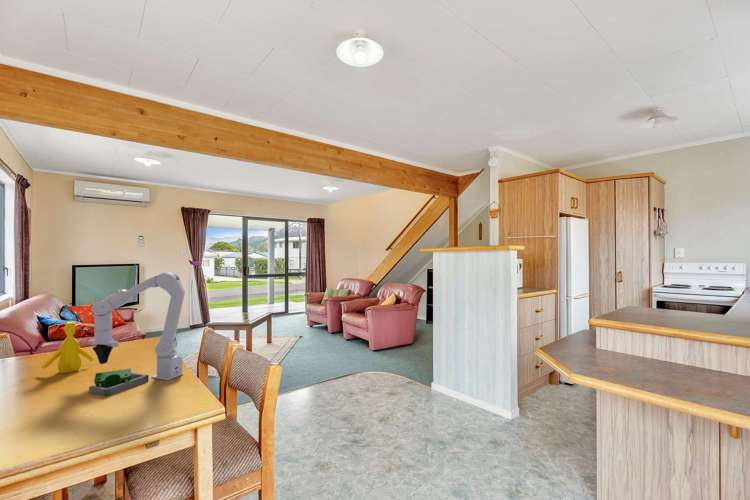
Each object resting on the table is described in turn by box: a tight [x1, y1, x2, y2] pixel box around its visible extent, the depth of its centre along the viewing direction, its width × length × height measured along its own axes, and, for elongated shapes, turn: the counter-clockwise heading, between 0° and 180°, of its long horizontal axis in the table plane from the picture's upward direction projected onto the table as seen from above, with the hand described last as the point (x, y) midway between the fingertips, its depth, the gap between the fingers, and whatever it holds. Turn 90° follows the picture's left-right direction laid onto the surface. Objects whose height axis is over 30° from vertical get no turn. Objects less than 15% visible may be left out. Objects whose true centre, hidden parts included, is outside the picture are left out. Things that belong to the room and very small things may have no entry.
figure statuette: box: [41, 321, 95, 374], centre depth 154 cm, size 18×8×22 cm, turn 135°
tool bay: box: [88, 371, 149, 398], centre depth 137 cm, size 9×16×2 cm, turn 161°
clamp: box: [93, 367, 132, 388], centre depth 136 cm, size 12×6×9 cm, turn 117°
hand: (103, 363), depth 142 cm, fingers closed
